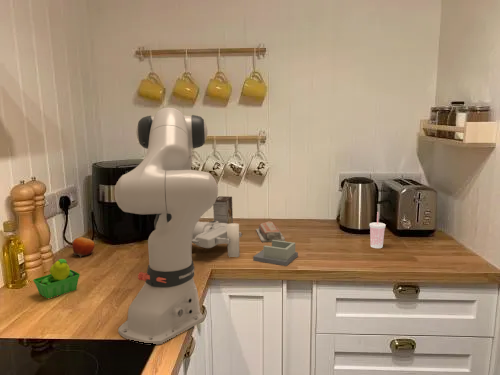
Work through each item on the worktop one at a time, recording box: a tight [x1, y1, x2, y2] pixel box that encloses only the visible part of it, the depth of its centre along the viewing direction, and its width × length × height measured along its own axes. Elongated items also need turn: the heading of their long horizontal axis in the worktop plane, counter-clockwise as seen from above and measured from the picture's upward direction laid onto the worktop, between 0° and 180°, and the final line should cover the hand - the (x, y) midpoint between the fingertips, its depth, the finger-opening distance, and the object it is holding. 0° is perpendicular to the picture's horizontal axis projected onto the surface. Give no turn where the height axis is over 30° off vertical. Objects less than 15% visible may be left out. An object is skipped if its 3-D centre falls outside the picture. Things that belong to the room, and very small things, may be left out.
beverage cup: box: [368, 211, 387, 249], centre depth 165 cm, size 6×6×14 cm
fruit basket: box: [32, 258, 81, 299], centre depth 127 cm, size 11×9×11 cm
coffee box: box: [212, 195, 234, 224], centre depth 185 cm, size 9×6×16 cm
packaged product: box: [255, 220, 286, 243], centre depth 182 cm, size 18×5×10 cm
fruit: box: [71, 236, 95, 259], centre depth 161 cm, size 8×8×8 cm
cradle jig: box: [252, 240, 299, 267], centre depth 154 cm, size 11×13×6 cm
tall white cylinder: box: [226, 222, 240, 258], centre depth 157 cm, size 4×4×12 cm
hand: (235, 238), depth 157 cm, fingers open, 7 cm apart
